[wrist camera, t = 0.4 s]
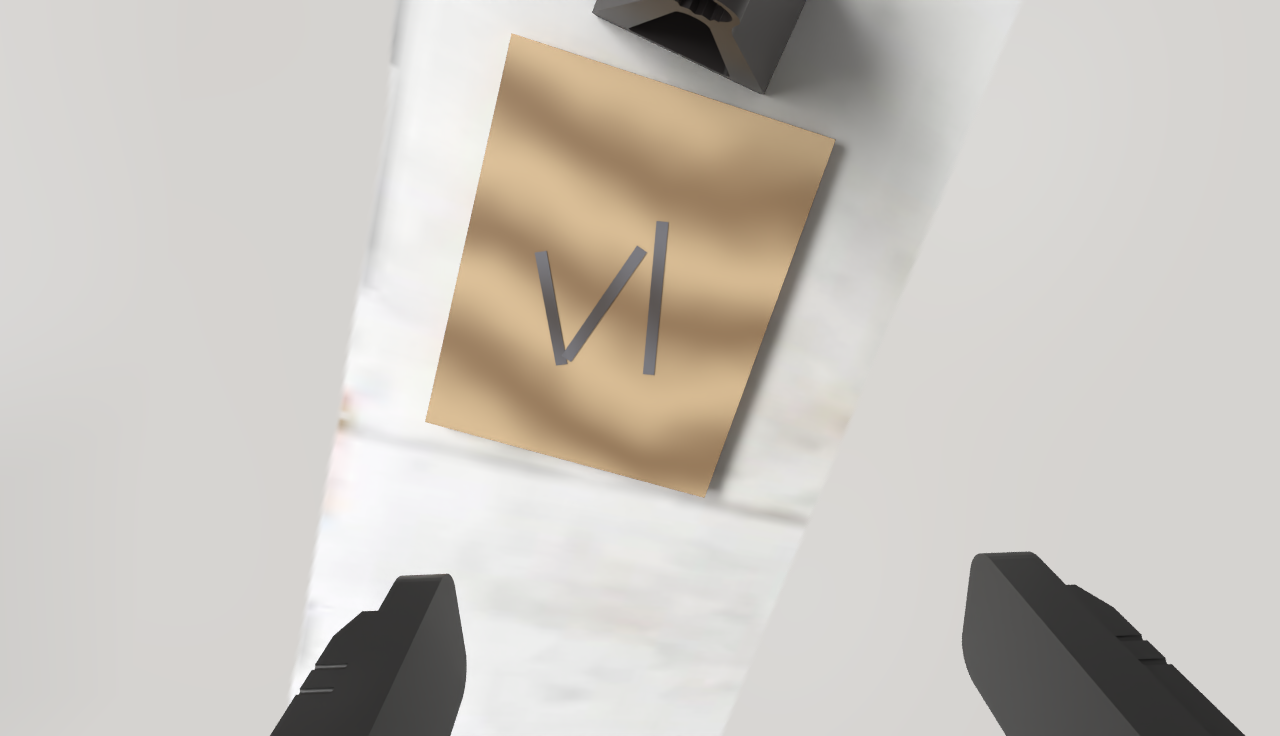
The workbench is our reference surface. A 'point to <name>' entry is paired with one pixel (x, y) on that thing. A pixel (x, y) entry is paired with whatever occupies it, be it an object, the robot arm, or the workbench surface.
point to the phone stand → (713, 32)
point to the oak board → (619, 267)
